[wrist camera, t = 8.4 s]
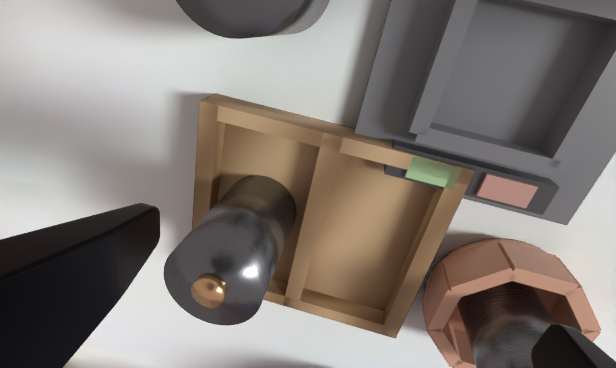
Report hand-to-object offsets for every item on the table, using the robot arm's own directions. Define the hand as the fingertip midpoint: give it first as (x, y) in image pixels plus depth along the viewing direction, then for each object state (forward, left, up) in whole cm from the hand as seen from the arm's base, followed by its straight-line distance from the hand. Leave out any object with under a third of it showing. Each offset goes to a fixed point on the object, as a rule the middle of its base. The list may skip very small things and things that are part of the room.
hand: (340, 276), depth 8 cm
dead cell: (-11, +8, -11) cm, 18 cm away
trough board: (+1, +6, -12) cm, 14 cm away
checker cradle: (-6, -3, -12) cm, 14 cm away
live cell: (+4, +6, -11) cm, 13 cm away
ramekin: (-11, +8, -12) cm, 18 cm away
